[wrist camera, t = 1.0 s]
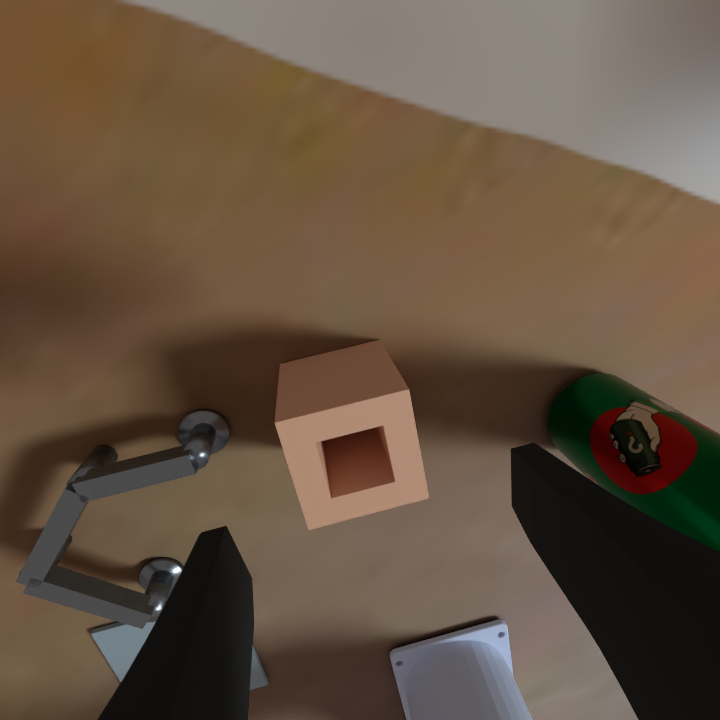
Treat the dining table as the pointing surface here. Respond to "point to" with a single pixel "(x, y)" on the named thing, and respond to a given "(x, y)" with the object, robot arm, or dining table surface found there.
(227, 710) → the robot arm
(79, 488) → the bent jointed bar linkage
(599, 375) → the soda can
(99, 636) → the mat
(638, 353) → the dining table surface
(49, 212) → the dining table surface
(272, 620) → the dining table surface
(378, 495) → the pink block with hole
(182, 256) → the dining table surface
